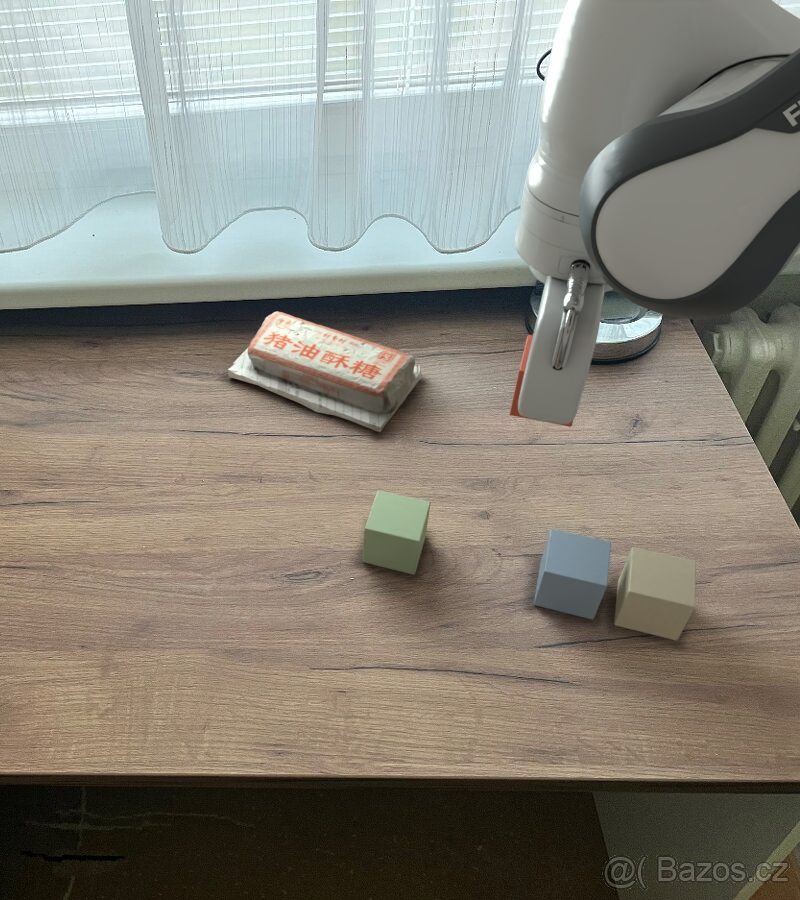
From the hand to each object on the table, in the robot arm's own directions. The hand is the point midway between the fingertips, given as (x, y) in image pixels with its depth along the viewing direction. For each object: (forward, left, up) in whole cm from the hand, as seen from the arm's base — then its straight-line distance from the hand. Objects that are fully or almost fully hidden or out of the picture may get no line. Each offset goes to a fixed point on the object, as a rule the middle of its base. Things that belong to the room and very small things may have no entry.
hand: (548, 385), depth 67 cm
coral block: (0, 0, -2) cm, 2 cm away
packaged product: (+21, -13, -15) cm, 29 cm away
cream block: (-11, +7, -15) cm, 20 cm away
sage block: (+9, +7, -15) cm, 19 cm away
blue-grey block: (-5, +7, -15) cm, 17 cm away
